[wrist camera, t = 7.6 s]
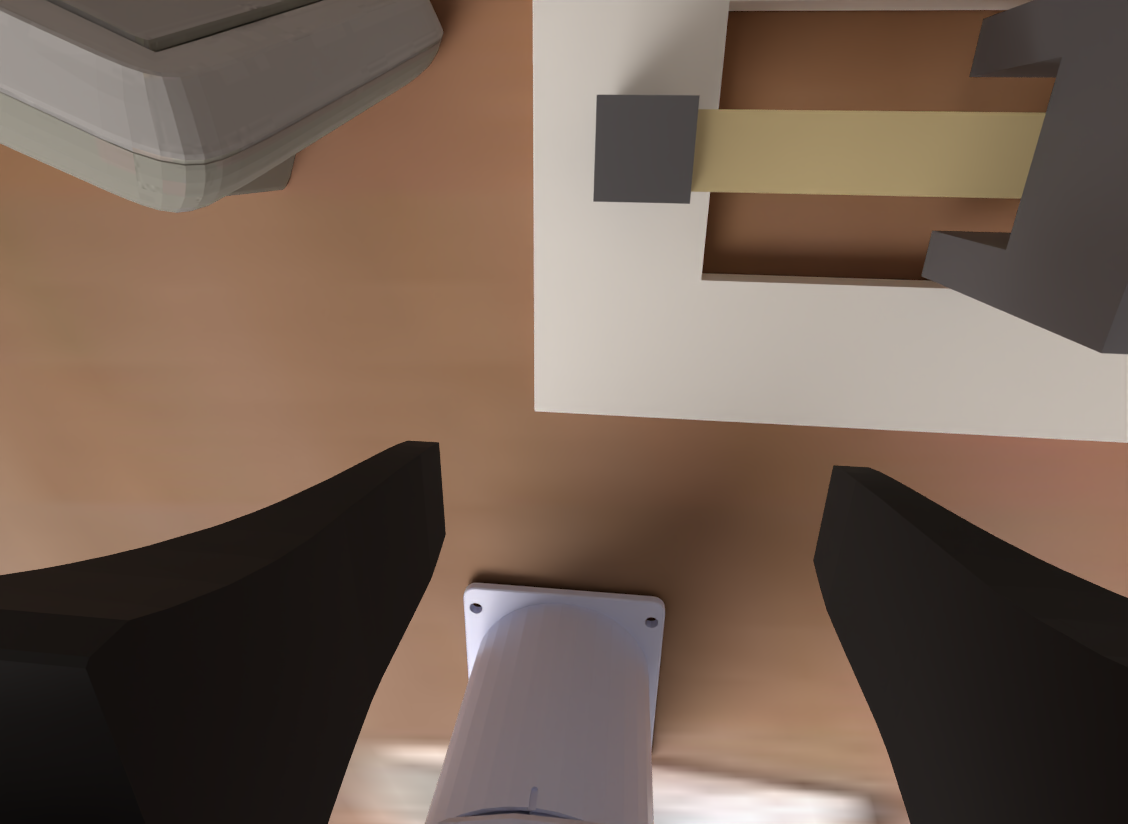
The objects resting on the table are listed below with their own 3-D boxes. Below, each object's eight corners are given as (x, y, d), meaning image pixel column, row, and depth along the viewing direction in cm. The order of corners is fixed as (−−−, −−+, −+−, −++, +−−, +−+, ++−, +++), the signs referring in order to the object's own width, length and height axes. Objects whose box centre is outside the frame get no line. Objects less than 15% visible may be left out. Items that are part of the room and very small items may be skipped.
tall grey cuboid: (1014, 279, 17) (1256, 359, 10) (921, 276, 17) (1101, 353, 10) (1092, 19, 14) (1473, -91, 8) (983, 19, 14) (1265, -88, 8)
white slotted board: (1155, 429, 20) (1367, 541, 14) (539, 397, 21) (506, 486, 16) (1391, -118, 14) (1894, -296, 9) (539, -102, 16) (488, -241, 10)
